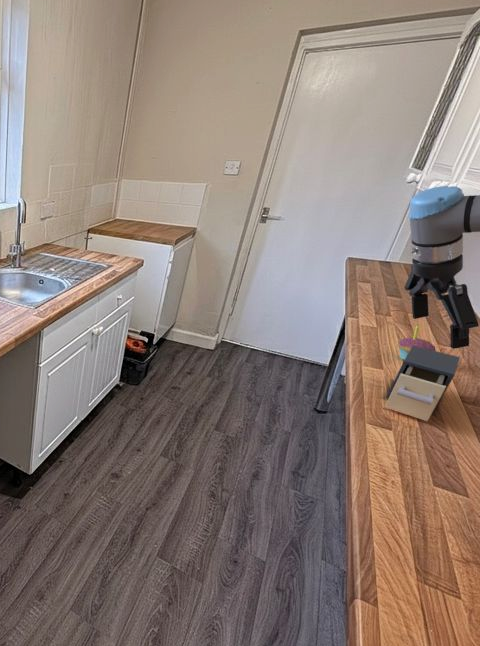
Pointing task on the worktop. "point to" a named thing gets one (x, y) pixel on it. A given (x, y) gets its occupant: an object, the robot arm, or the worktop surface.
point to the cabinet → (429, 365)
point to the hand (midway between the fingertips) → (439, 331)
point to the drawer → (417, 392)
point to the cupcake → (413, 344)
